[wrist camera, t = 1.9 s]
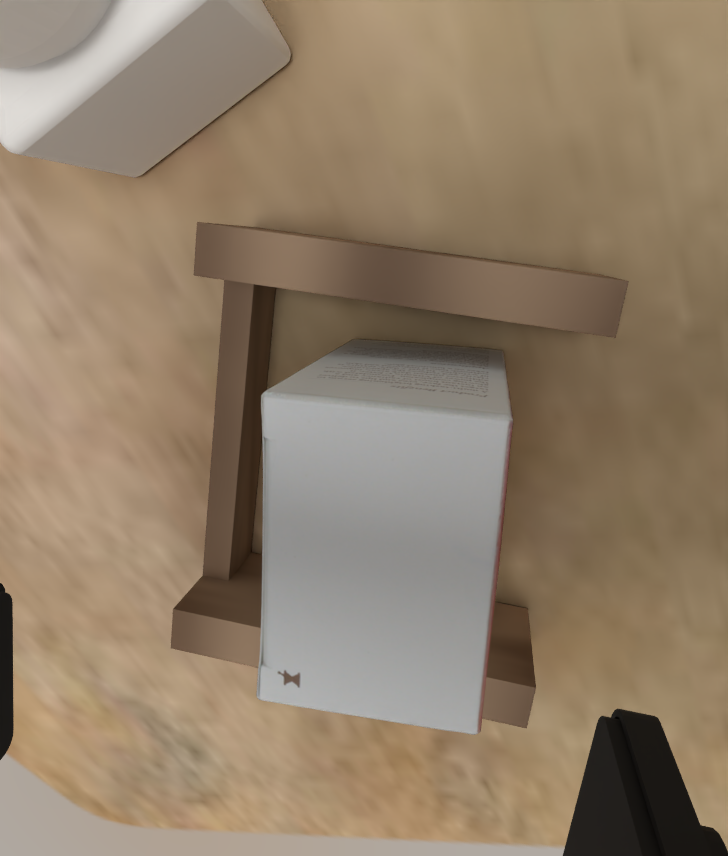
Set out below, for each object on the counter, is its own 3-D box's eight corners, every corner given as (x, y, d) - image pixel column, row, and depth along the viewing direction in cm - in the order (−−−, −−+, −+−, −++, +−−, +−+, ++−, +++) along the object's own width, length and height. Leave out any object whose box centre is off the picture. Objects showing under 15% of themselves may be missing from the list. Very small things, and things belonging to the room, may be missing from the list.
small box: (485, 557, 26) (482, 748, 16) (340, 539, 27) (252, 710, 17) (508, 345, 24) (520, 415, 14) (350, 333, 25) (256, 391, 15)
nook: (600, 274, 23) (628, 281, 18) (520, 643, 27) (526, 728, 22) (253, 227, 25) (197, 222, 20) (224, 581, 28) (170, 648, 24)
